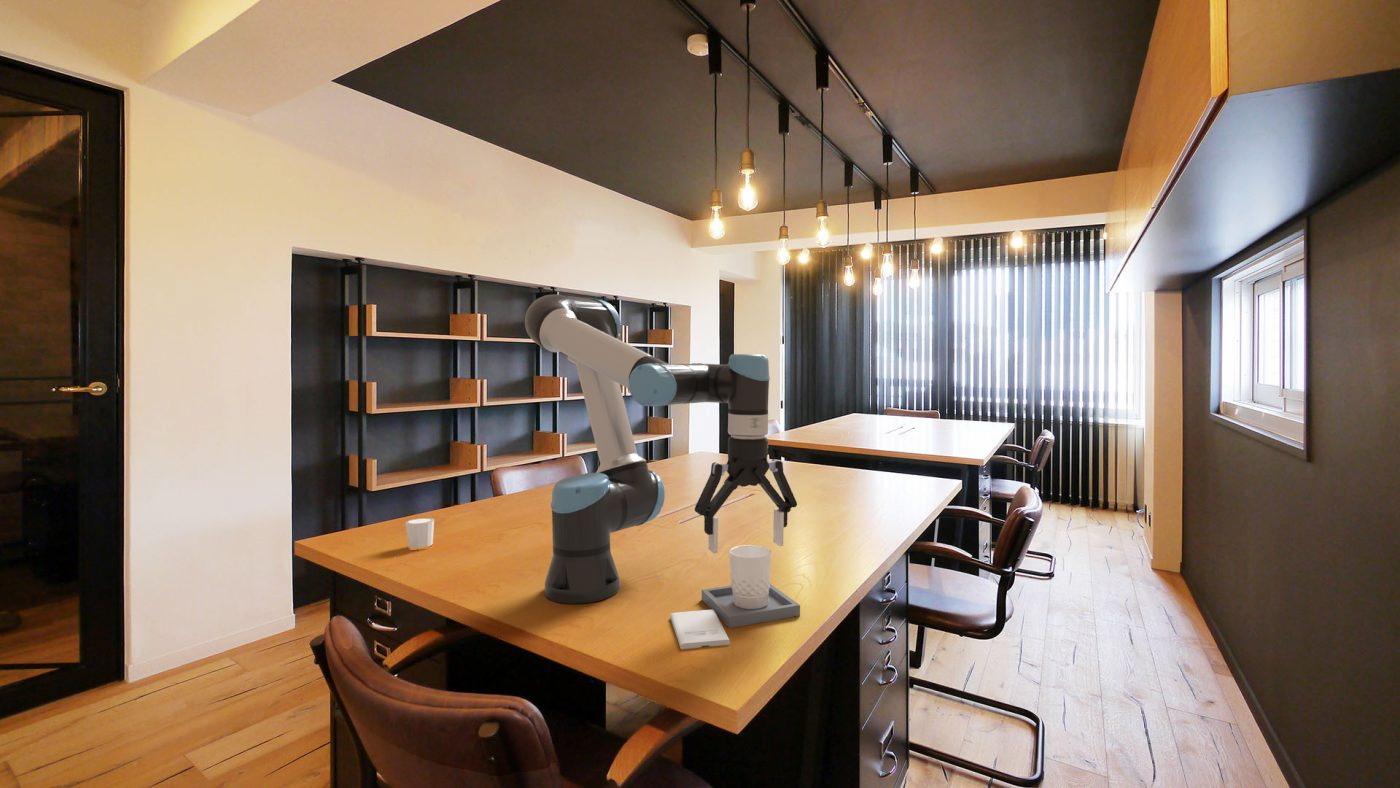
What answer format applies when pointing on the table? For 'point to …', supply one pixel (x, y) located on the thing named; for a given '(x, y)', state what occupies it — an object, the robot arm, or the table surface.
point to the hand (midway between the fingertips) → (746, 547)
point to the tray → (736, 616)
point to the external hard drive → (698, 629)
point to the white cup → (750, 576)
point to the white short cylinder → (420, 532)
